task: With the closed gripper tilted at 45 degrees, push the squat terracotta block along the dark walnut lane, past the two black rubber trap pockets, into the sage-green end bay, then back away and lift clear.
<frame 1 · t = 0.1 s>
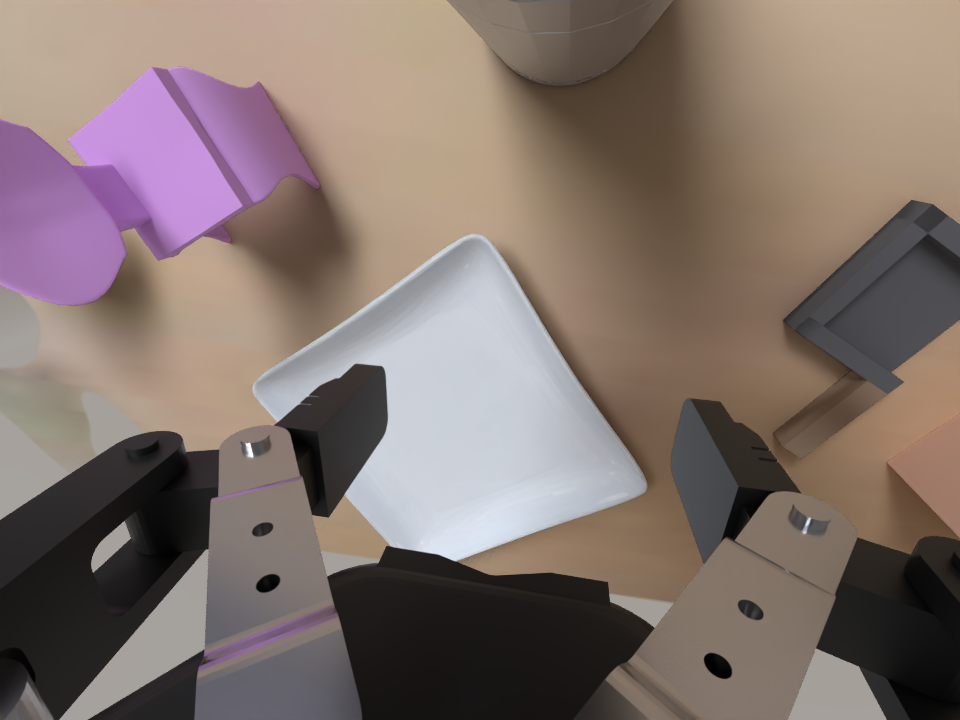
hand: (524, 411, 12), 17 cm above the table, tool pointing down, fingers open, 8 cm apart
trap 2: (890, 298, 25), on the table
toy chair: (247, 166, 28), on the table
salad plate: (453, 412, 35), on the table
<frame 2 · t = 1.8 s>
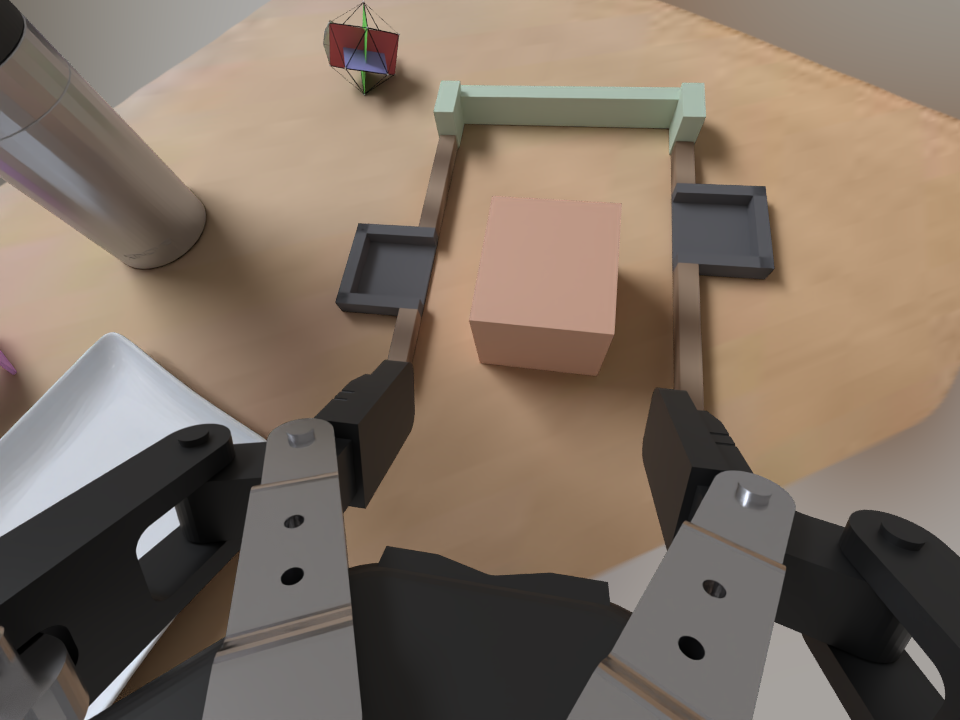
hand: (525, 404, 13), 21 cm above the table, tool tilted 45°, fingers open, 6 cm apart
walnut lane: (551, 245, 39), on the table
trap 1: (715, 235, 38), on the table
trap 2: (391, 273, 39), on the table
salad plate: (125, 515, 34), on the table
terracotta block: (544, 312, 37), on the table
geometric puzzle: (374, 81, 49), on the table
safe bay: (558, 177, 42), on the table
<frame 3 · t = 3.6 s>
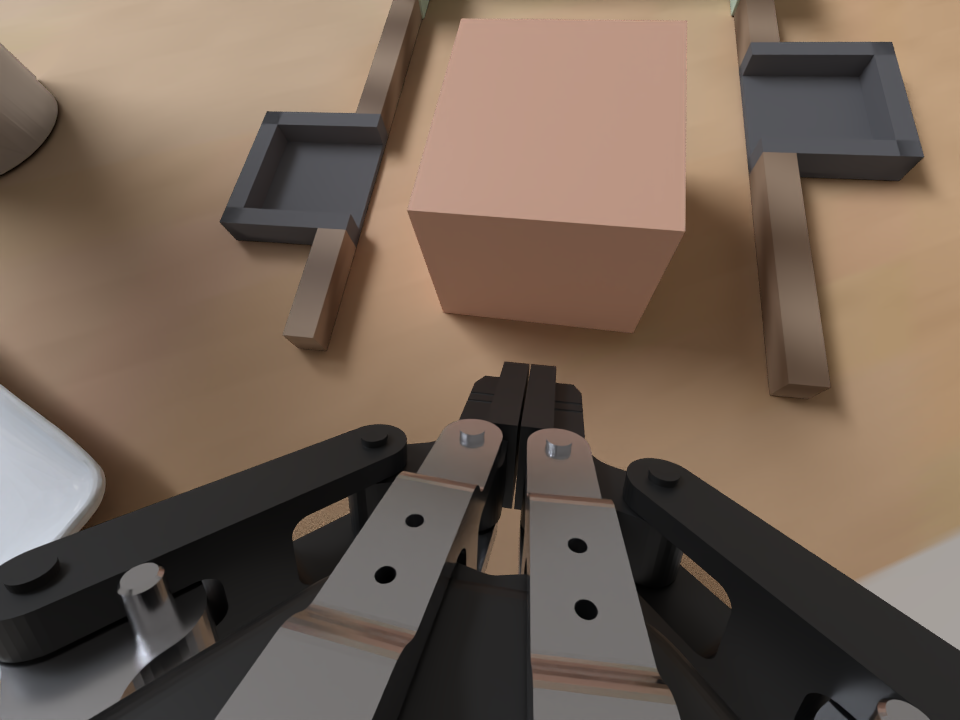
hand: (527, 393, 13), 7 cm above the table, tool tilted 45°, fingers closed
walnut lane: (557, 140, 25), on the table
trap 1: (812, 120, 24), on the table
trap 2: (315, 186, 26), on the table
terracotta block: (547, 237, 23), on the table
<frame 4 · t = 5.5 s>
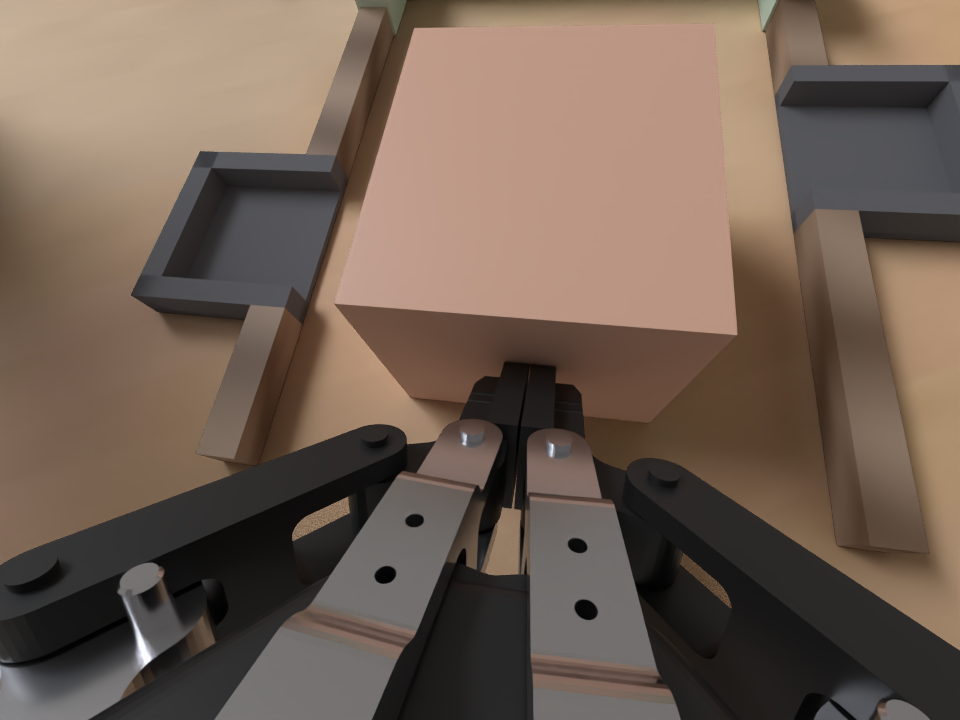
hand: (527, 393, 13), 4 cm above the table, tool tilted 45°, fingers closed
walnut lane: (552, 186, 21), on the table
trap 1: (870, 162, 20), on the table
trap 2: (257, 242, 21), on the table
terracotta block: (537, 294, 19), on the table, touching gripper
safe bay: (564, 74, 23), on the table
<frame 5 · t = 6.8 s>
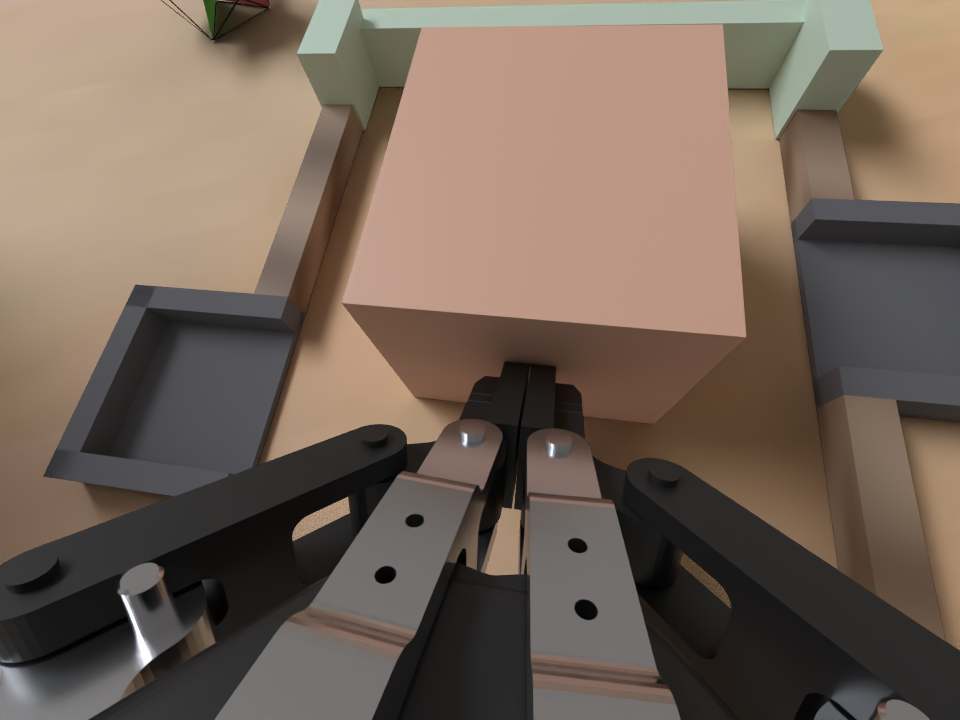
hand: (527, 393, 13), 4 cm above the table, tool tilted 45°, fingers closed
walnut lane: (537, 333, 18), on the table
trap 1: (904, 315, 17), on the table
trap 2: (198, 393, 19), on the table
terracotta block: (542, 294, 19), on the table
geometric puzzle: (235, 20, 29), on the table
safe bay: (552, 186, 21), on the table
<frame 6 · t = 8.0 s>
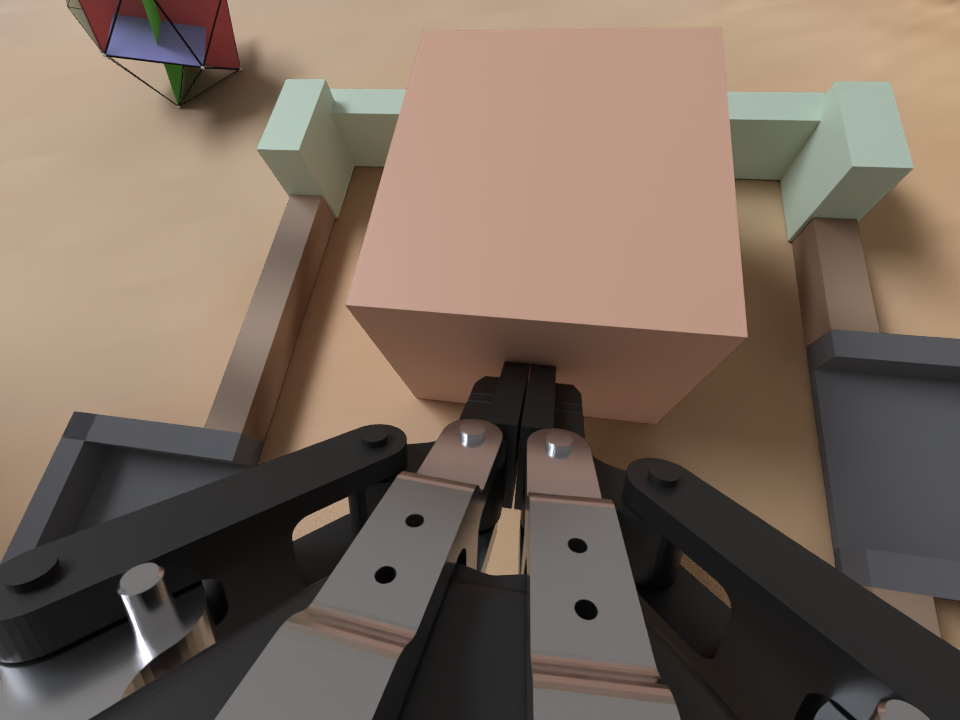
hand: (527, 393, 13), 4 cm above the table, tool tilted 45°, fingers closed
walnut lane: (521, 475, 16), on the table
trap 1: (936, 466, 15), on the table
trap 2: (142, 537, 17), on the table
terracotta block: (543, 296, 19), on the table
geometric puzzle: (204, 82, 27), on the table
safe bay: (540, 292, 19), on the table
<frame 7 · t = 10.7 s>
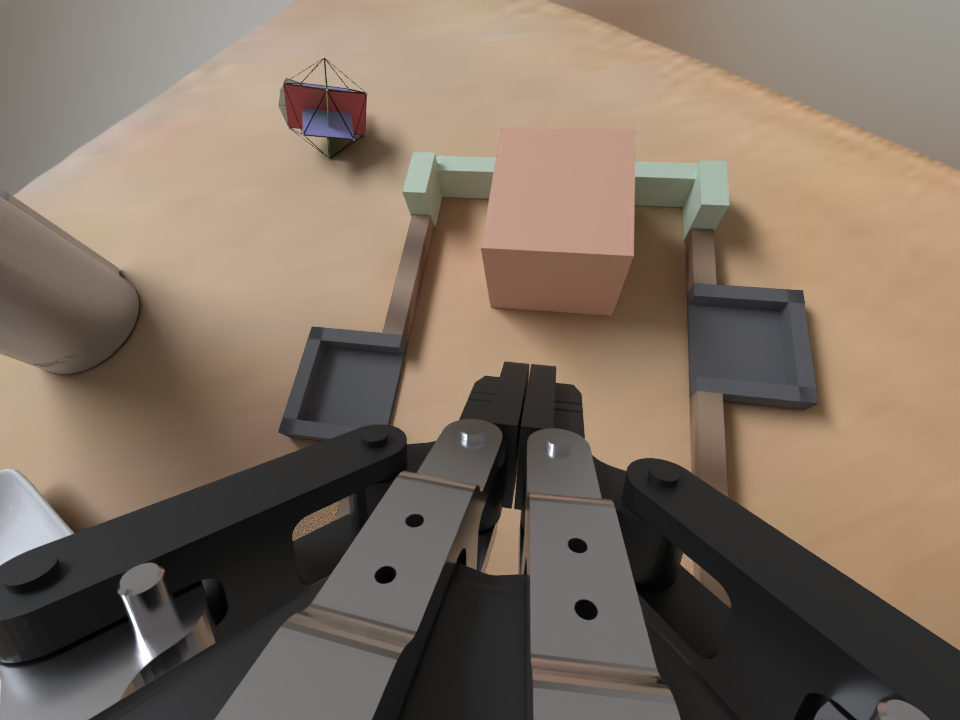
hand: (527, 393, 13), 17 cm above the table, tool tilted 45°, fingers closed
walnut lane: (541, 356, 32), on the table
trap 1: (742, 348, 31), on the table
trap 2: (350, 389, 33), on the table
salad plate: (10, 709, 28), on the table
terracotta block: (555, 256, 36), on the table
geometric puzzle: (341, 142, 43), on the table
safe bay: (550, 267, 35), on the table
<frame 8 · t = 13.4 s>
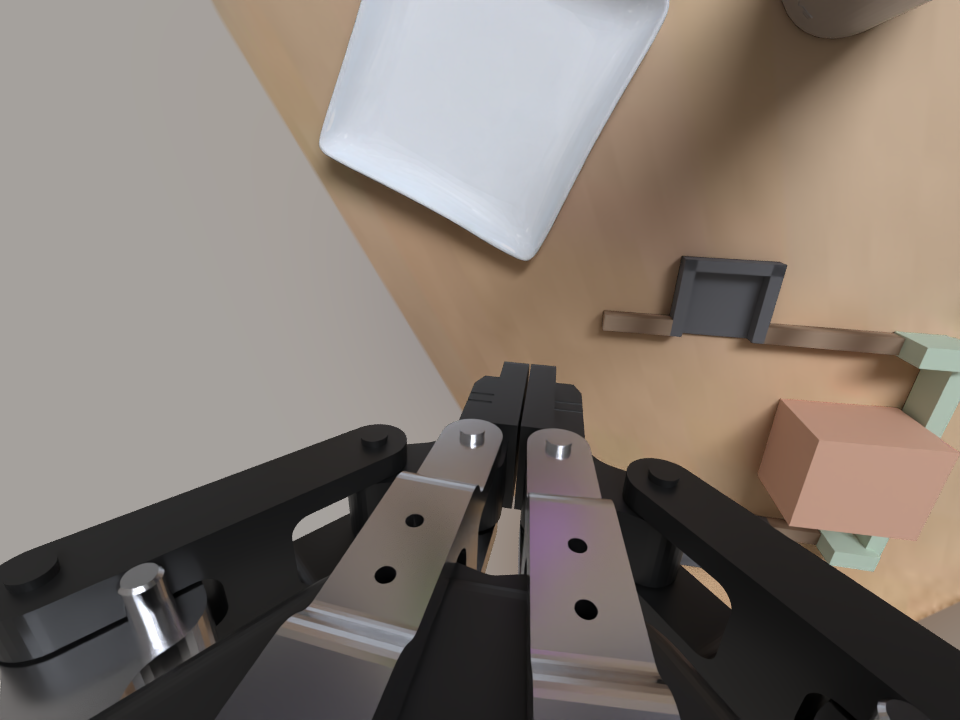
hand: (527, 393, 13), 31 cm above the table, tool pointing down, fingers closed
walnut lane: (729, 430, 45), on the table
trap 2: (720, 297, 41), on the table
salad plate: (483, 88, 38), on the table
terracotta block: (822, 442, 44), on the table
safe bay: (811, 440, 44), on the table
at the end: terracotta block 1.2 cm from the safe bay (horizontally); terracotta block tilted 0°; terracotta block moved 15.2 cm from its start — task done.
